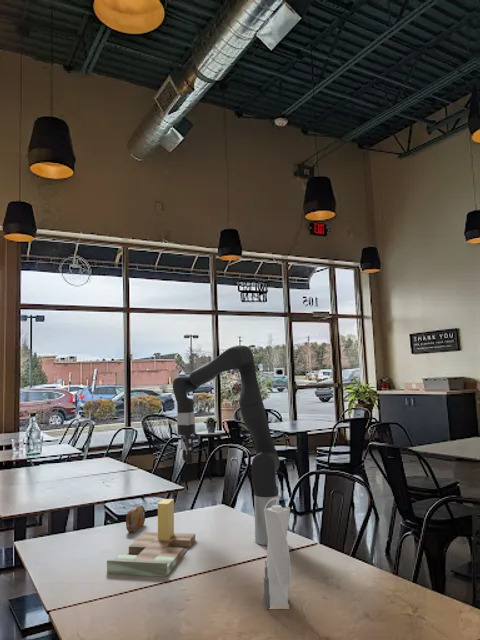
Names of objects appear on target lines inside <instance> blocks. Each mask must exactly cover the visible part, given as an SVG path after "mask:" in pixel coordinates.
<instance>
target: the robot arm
mask: <svg viewBox="0 0 480 640" xmlns="http://www.w3.org/2000/svg"><path fill="white" fill-rule="evenodd" d="M254 359H255V358H254V355H253V351H252V350H251V349H250V347H248V346H246V345H233V346H230V347H228V348H227V349H226V350H224V351H223V352H221V353H220V354H219V355H218V356H217V357H215V358H214V359H212V360H210V361H209V362H208V363H206V364H203V365H202V366H200V367H198V368H196V369H194V370H192V371H191V373H189V375H184V376H183V375H181V376H176V377H175V378H174V379H173V382H172V392H173V394H174V398H175V401H176V407H177V408H176V409H177V411H176V412H177V413H176V414H177V415H176V421H177V422H176V423H177V424H176V426H177V435H178V436H180V449H181V452H182V461H184V462H185V461H186V464H188V465H190V464H193V454H194V439H193V437H192V435H195V434H196V419H195V410H194V409H195V408H194V407H195V406H194V405H195V404H194V399H192V398H190V397H188V396H187V393H193V392H194V391H196V390H198V389H199V388H200V387H201V386H203V385H204V384H207V383H209V382H211V381H212V380H213V379H215V378H216V377H217V376H218V375H220V374H222V373H224V372H228V371H231V370H234V371H235V370H236V371H237V370H238V373H239V375H240V380H241V386H240V387H241V389H240V393H239V409H240V414H241V416H242V420H243V422H244V425H245V426H246V429H247V430H248V433H249V434H250V436H251V437H252V439H253V443H254V447H255V453H256V455H255V456H254V457H253V458H252V461H251V483H252V484H251V485H252V488H253V497H254V498H253V499H254V501H253V502H254V503H253V504H254V537H255V538H254V540H255V543H256V544H258V545H263V546H268V536H267V529H266V522H265V514H264V508H265V505H266V504H267V502H268V501H269V500H270V499H272V498H276V497H277V498H278V503H277V505H280V502H279V501H280V497H279V495H280V494H279V487H278V486H277V479H276V472H277V471H278V470H279V468H280V459H279V458H280V457H279V455H278V452H277V449H276V446H275V444H274V441H273V438H272V435H271V429H270V426H269V425H270V424H269V422H268V418H267V412H266V409H265V405H264V400H263V397H262V394H261V391H260V386H259V382H258V377H257V373H256V366H255V360H254ZM276 501H277V499H274V500H272V501H270V502H269V503H268V504H267V506H266V509H268V508H271V507H272V505H276Z"/></svg>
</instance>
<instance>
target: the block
mask: <svg viewBox="0 0 480 640" xmlns="http://www.w3.org/2000/svg"><path fill="white" fill-rule="evenodd" d="M174 499H175V498H162V500H160V501H159V502H157V532H158V540H169V539H170V538H171V537H172V536H173V535H174V533H175V506H174V505H175V500H174Z"/></svg>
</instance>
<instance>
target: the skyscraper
mask: <svg viewBox="0 0 480 640" xmlns="http://www.w3.org/2000/svg"><path fill="white" fill-rule="evenodd" d="M274 499H277V501H276V505H272V507H271V508H268V509H266V506H267V504H268V503H269V502H270V501H272V500H274ZM277 503H278V498H277V497H276V498H272V499H270V500H269V501H268V502H267V504H266V505H265V508H264V514H265V522H266V529H267V536H268V545H266V547H267V548H266V560H265V561H264V564H265V565H264V576H263V601H262V602H263V610H264V609H269V608H270V606H289V607H290V603H289V604H288V601H289V595H290V583H291V557H290V549H289V544H288V539H287V537H288V529H289V523H290V515H291V507H290V506H285V507H283V506H282V505H280V504H279V505H277Z"/></svg>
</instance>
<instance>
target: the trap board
mask: <svg viewBox="0 0 480 640" xmlns="http://www.w3.org/2000/svg"><path fill="white" fill-rule="evenodd" d="M195 541H196V533H188V532H187V533H186V532H185V533H184V532H174V535H173V536H172V537H171V538H170V539H169V540H158V531H157V532H156V531H145V532H144V533H142V534H141V535H140V536H139V537H138V538H136V539H135V540H134V541H133V542H132V543H131V544H130V545H129V546H128V553H127V554H118V555H117V556H116V557H115V558H113V559H110V558H109V559H107V560H106V574H107V575H108V574H110V575H127V576H129V575H130V576H148V577H165V578H167V577H168V575H169V574H170V572H172V570H173V569H174V567H176V565H177V564H178V563H179V561H180V560H182V558H183V556H184V555H185V554H186V553H187V552H188V550H189V549H190V548H191V547H192V546H193V544H194V543H195Z"/></svg>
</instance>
